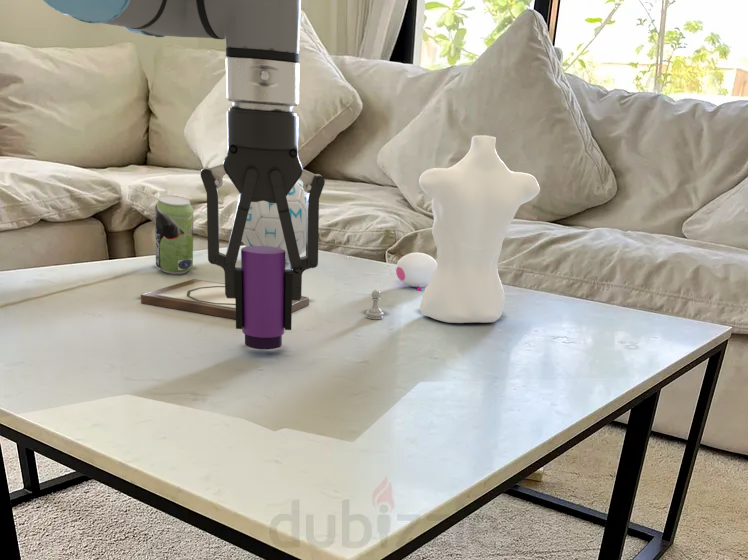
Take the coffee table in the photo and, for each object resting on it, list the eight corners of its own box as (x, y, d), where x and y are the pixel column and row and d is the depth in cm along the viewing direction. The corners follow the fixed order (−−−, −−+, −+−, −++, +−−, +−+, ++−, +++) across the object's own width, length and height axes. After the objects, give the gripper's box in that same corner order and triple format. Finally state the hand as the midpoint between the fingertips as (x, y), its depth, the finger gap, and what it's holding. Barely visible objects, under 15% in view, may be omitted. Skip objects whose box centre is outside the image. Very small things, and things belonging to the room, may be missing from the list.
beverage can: (181, 267, 136) (178, 193, 130) (203, 275, 131) (201, 199, 126) (148, 269, 132) (143, 193, 126) (170, 278, 127) (166, 200, 122)
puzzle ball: (332, 263, 149) (335, 178, 142) (276, 272, 138) (276, 180, 131) (275, 250, 157) (276, 169, 150) (218, 257, 146) (215, 170, 139)
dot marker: (234, 345, 93) (232, 249, 88) (255, 336, 97) (254, 244, 92) (272, 352, 91) (272, 255, 86) (291, 342, 95) (292, 249, 90)
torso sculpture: (500, 309, 125) (525, 136, 113) (529, 325, 117) (558, 141, 105) (394, 309, 119) (408, 128, 108) (416, 326, 111) (434, 132, 100)
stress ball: (430, 303, 139) (428, 267, 140) (445, 285, 132) (443, 248, 132) (389, 301, 137) (387, 265, 138) (402, 283, 130) (400, 244, 130)
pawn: (372, 320, 113) (374, 292, 111) (362, 316, 114) (363, 288, 113) (386, 318, 114) (388, 291, 112) (376, 314, 116) (378, 287, 114)
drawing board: (140, 303, 112) (140, 293, 111) (194, 286, 124) (194, 277, 123) (265, 324, 106) (265, 314, 106) (309, 305, 118) (309, 295, 118)
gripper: (172, 101, 77) (184, 333, 88) (352, 114, 81) (342, 336, 91) (177, 100, 84) (187, 316, 95) (343, 113, 87) (334, 320, 98)
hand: (263, 326), depth 93 cm, fingers closed on dot marker, 5 cm apart
